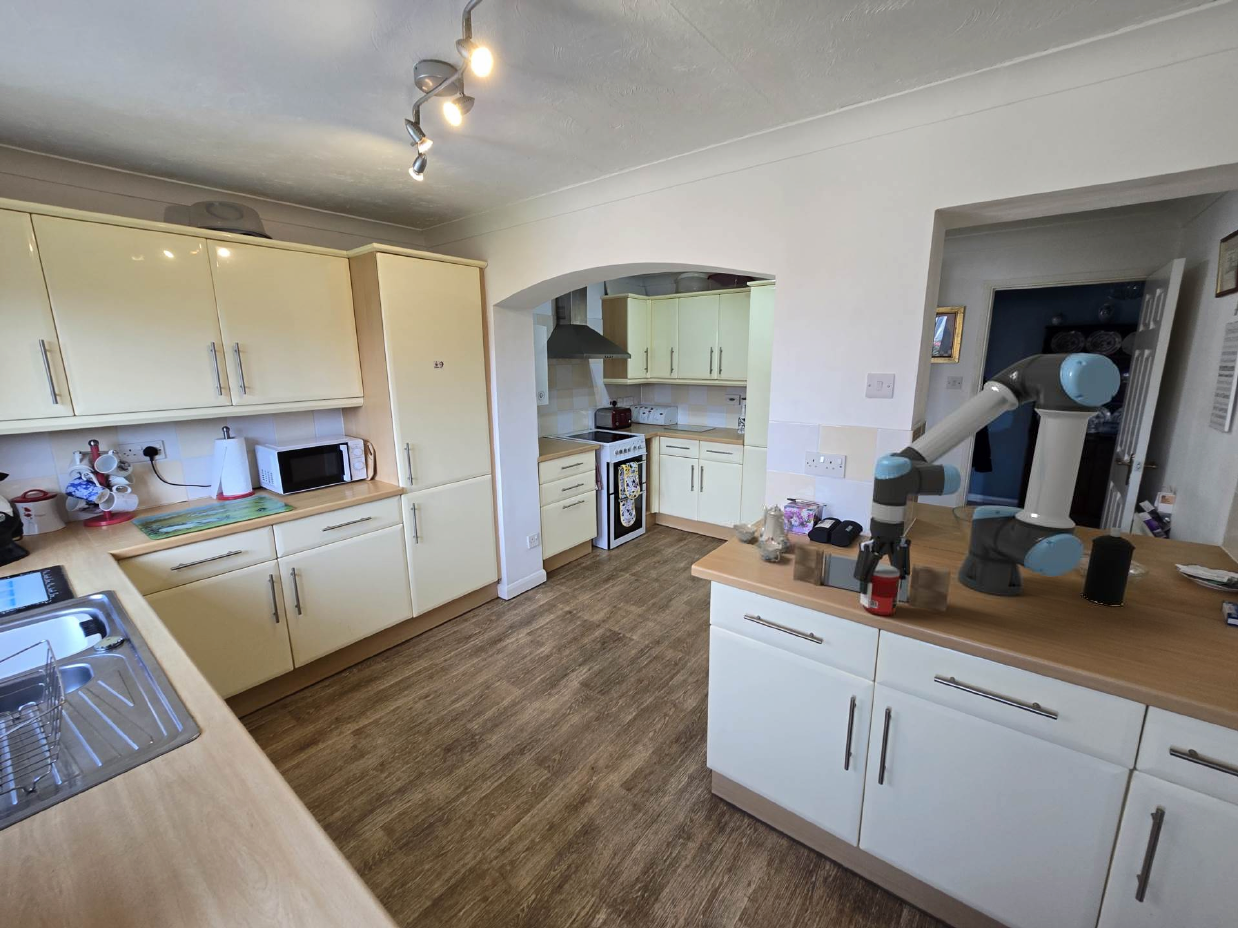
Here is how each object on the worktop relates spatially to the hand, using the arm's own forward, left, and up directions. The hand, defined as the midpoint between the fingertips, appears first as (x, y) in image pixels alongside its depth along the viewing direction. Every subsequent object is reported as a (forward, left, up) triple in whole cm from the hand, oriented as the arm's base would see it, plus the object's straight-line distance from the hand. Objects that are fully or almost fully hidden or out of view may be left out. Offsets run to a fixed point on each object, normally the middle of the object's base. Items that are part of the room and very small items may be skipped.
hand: (879, 602), depth 128 cm
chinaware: (+37, -28, -3) cm, 46 cm away
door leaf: (+4, -9, -2) cm, 10 cm away
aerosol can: (-51, -37, -2) cm, 63 cm away
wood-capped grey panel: (+4, -9, -2) cm, 10 cm away
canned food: (0, 0, -2) cm, 2 cm away
